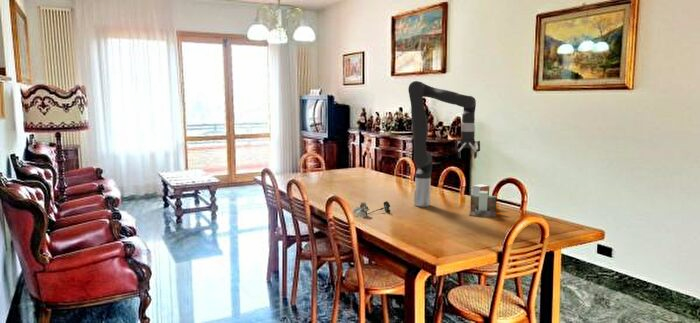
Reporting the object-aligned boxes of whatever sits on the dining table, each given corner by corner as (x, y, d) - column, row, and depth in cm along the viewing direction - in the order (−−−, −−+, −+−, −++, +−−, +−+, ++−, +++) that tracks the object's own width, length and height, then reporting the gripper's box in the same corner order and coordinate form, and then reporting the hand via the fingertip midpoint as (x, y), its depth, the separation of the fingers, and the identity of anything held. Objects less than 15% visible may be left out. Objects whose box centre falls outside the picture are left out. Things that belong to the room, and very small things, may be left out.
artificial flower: (393, 215, 271) (393, 200, 267) (357, 224, 262) (358, 209, 258) (385, 208, 278) (386, 193, 274) (350, 217, 269) (350, 201, 265)
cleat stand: (469, 215, 264) (469, 198, 263) (470, 211, 274) (470, 194, 273) (495, 217, 260) (496, 200, 258) (495, 213, 270) (496, 196, 269)
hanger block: (478, 214, 265) (479, 192, 263) (478, 211, 270) (479, 190, 269) (486, 214, 263) (487, 193, 262) (487, 212, 269) (487, 191, 267)
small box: (479, 208, 282) (480, 186, 280) (471, 206, 287) (472, 185, 285) (488, 206, 286) (489, 185, 284) (480, 204, 291) (481, 184, 290)
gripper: (454, 130, 274) (454, 158, 276) (480, 131, 270) (479, 159, 272) (456, 130, 281) (455, 157, 283) (480, 130, 277) (480, 158, 279)
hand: (467, 158), depth 277 cm, fingers open, 8 cm apart
